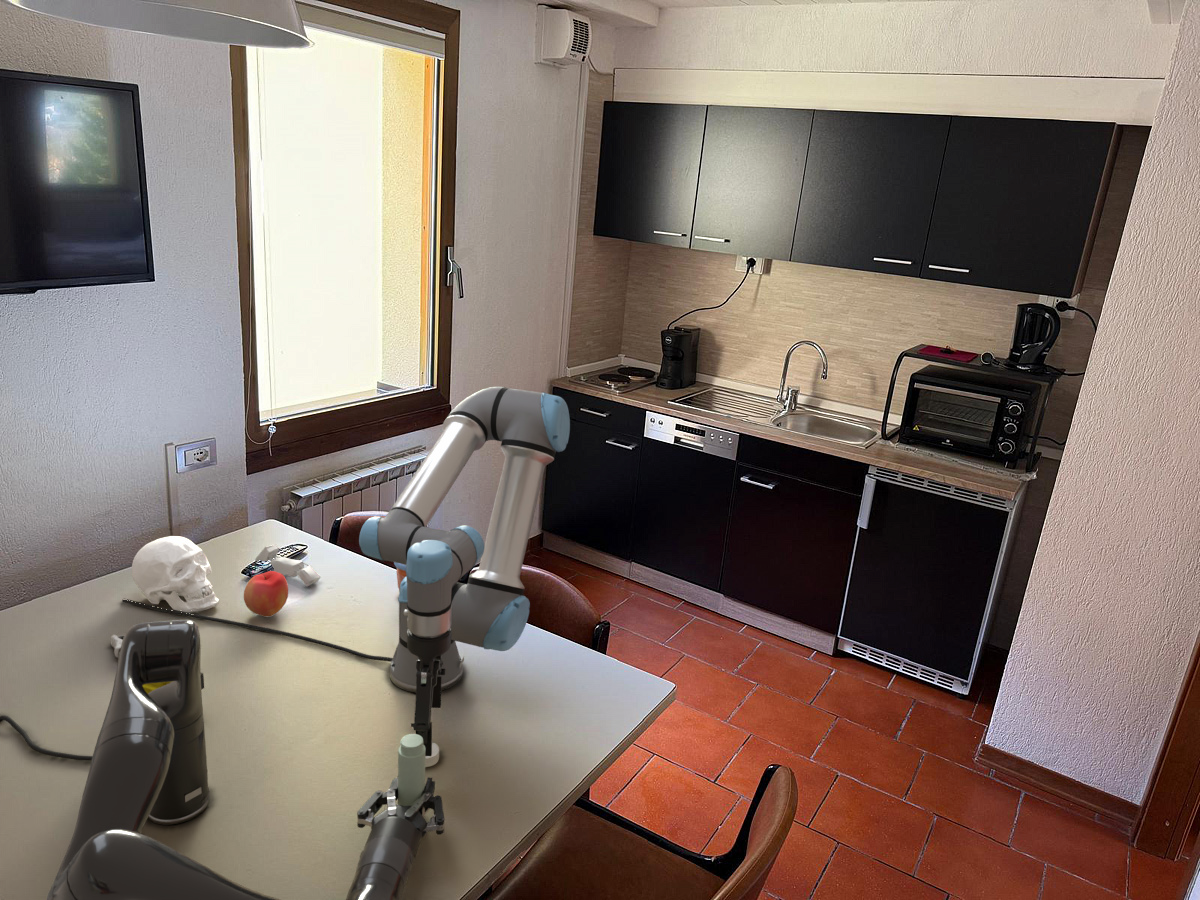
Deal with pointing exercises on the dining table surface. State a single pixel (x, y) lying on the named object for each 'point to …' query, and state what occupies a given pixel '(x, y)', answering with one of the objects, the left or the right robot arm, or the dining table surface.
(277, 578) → the apple
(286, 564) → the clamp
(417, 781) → the pale green cylinder
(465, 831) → the dining table surface
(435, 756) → the lid
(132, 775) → the left robot arm
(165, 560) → the skull
